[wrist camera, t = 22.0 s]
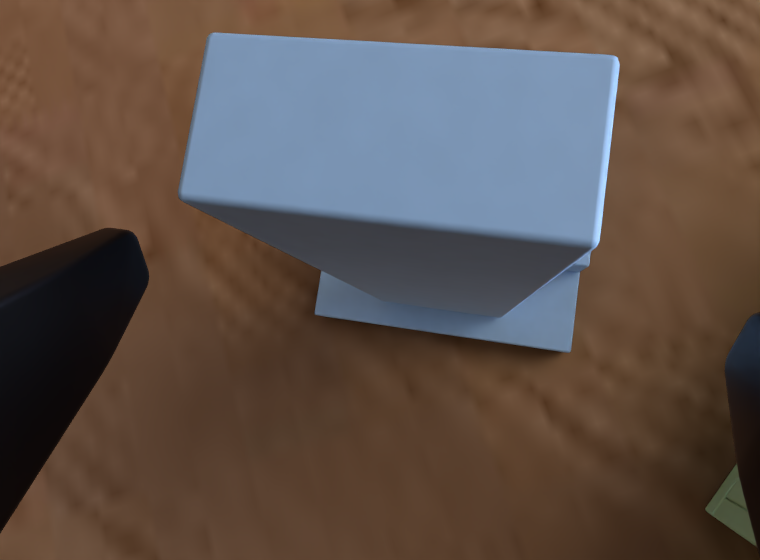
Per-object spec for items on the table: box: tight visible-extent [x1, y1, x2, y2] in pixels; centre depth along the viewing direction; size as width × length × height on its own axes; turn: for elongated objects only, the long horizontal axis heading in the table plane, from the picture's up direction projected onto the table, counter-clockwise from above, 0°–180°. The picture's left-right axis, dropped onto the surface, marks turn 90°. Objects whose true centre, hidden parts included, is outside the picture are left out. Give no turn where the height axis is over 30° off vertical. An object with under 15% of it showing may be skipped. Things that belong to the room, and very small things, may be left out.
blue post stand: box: [178, 33, 620, 353], centre depth 11 cm, size 8×8×12 cm
